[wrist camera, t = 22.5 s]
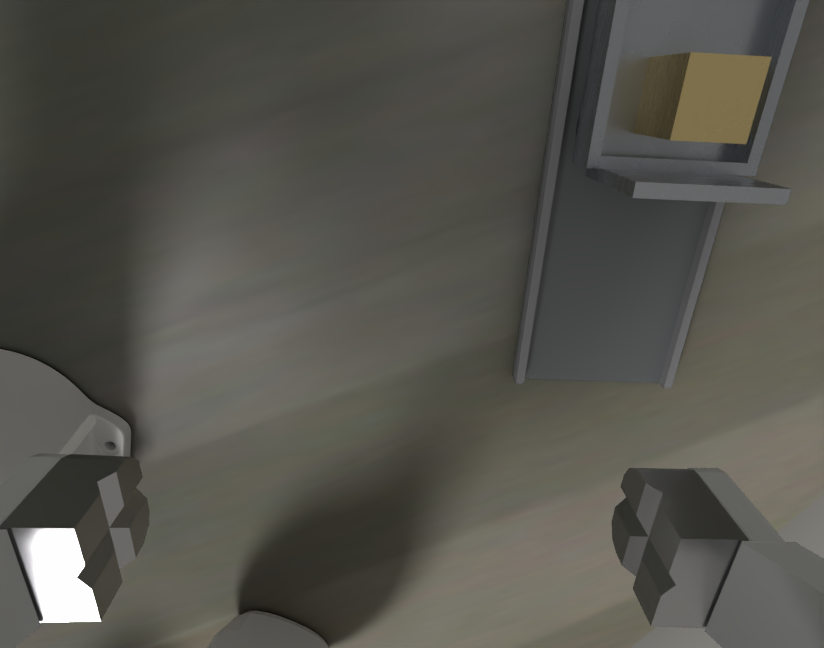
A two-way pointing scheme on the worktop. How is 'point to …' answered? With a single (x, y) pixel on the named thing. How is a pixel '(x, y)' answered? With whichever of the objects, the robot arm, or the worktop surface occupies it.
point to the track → (605, 256)
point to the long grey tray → (623, 84)
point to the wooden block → (701, 97)
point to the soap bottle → (265, 633)
